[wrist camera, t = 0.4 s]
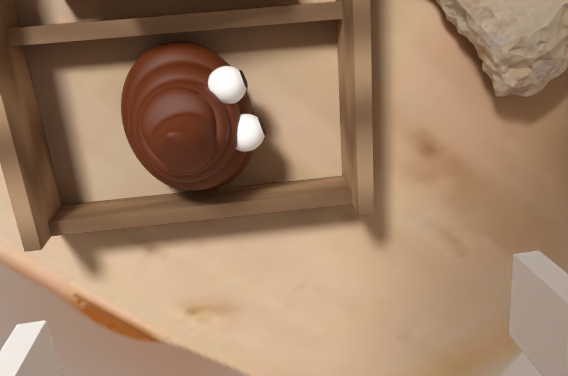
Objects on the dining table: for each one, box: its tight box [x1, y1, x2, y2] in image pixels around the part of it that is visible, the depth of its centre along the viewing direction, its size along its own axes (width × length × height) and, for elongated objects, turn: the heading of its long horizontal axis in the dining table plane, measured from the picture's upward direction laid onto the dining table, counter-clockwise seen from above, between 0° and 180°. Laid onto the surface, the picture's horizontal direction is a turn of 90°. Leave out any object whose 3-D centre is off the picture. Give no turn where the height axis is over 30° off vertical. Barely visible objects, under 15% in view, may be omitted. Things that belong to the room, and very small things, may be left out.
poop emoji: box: [121, 42, 266, 191], centre depth 32 cm, size 10×8×9 cm
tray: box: [0, 0, 374, 252], centre depth 31 cm, size 25×22×5 cm
